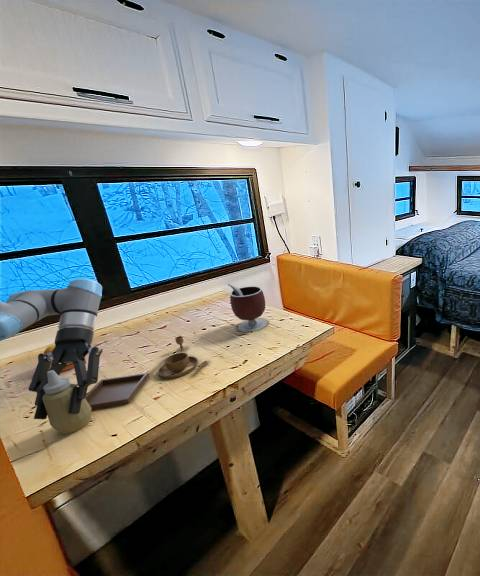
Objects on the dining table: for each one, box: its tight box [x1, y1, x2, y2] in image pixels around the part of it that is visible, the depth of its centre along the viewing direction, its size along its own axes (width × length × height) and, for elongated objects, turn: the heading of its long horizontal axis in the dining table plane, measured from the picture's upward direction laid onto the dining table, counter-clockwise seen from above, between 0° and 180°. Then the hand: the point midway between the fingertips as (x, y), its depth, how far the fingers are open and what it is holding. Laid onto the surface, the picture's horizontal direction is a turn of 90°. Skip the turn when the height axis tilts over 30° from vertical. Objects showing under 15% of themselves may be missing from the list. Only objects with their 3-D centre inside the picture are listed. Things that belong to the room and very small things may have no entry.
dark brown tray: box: [85, 372, 150, 411], centre depth 96 cm, size 14×14×2 cm
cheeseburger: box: [43, 344, 74, 373], centre depth 110 cm, size 10×11×10 cm
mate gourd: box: [227, 283, 268, 333], centre depth 135 cm, size 16×14×20 cm
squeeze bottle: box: [42, 370, 92, 435], centre depth 81 cm, size 8×8×18 cm
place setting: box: [157, 335, 208, 379], centre depth 111 cm, size 18×20×6 cm
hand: (57, 415), depth 78 cm, fingers closed on squeeze bottle, 6 cm apart
